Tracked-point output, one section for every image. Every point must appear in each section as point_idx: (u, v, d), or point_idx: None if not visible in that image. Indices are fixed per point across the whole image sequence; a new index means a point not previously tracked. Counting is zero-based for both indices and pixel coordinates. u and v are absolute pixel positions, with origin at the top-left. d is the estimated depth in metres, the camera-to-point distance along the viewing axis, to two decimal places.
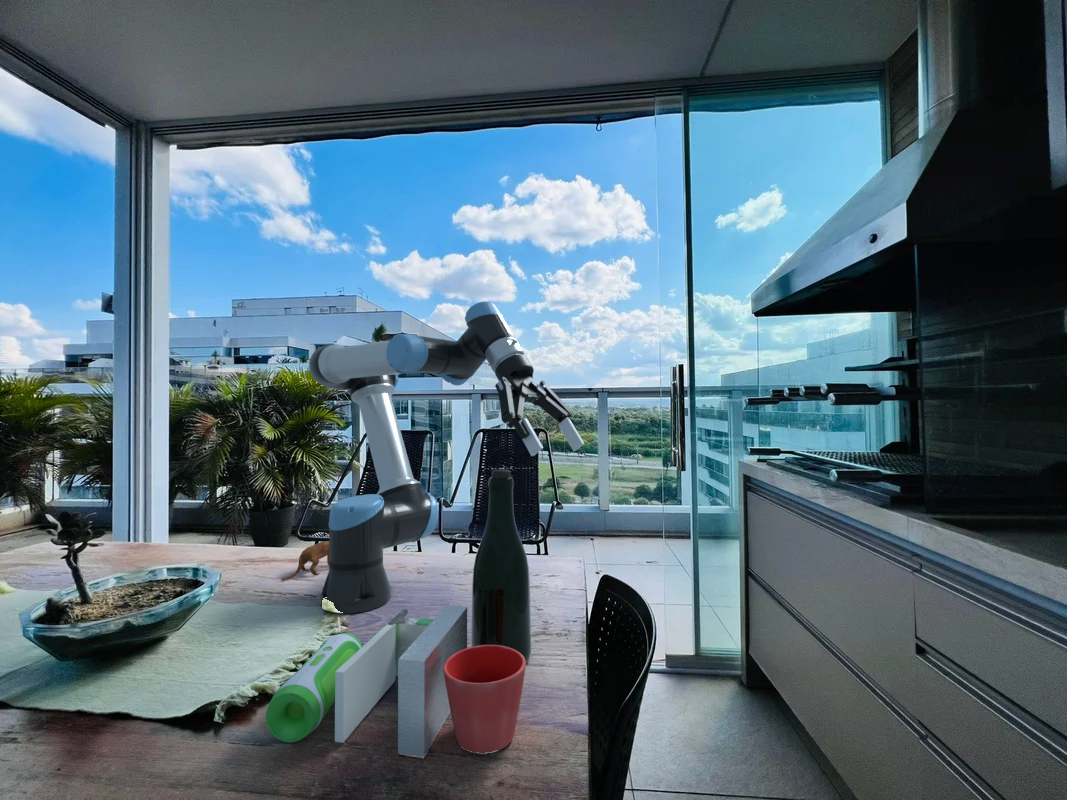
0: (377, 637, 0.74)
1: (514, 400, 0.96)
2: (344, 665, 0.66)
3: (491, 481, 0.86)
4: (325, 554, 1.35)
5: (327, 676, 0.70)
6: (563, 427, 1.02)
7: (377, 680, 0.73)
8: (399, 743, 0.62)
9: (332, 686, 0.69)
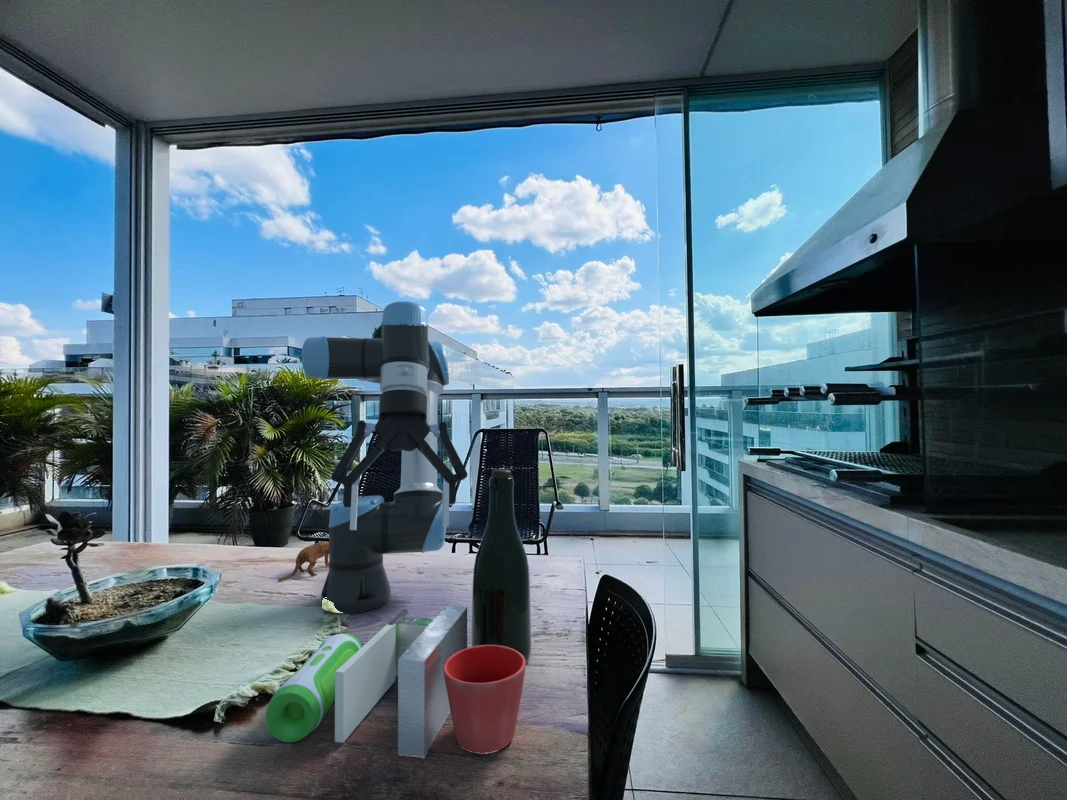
0: (377, 637, 0.74)
1: None
2: (344, 665, 0.66)
3: (492, 481, 0.86)
4: (322, 554, 1.35)
5: (327, 676, 0.70)
6: (442, 491, 0.79)
7: (377, 680, 0.73)
8: (399, 743, 0.62)
9: (332, 686, 0.69)
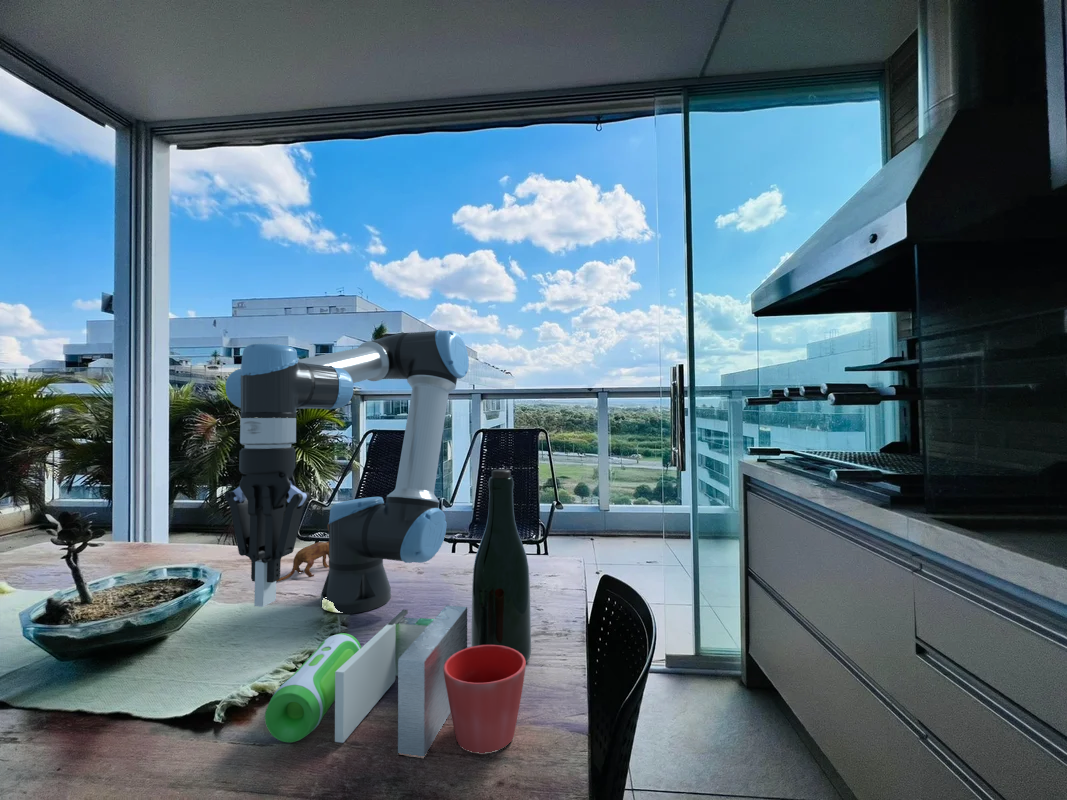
0: (377, 637, 0.74)
1: None
2: (344, 665, 0.66)
3: (491, 481, 0.86)
4: (320, 555, 1.34)
5: (326, 676, 0.70)
6: None
7: (377, 680, 0.73)
8: (399, 743, 0.62)
9: (331, 686, 0.69)
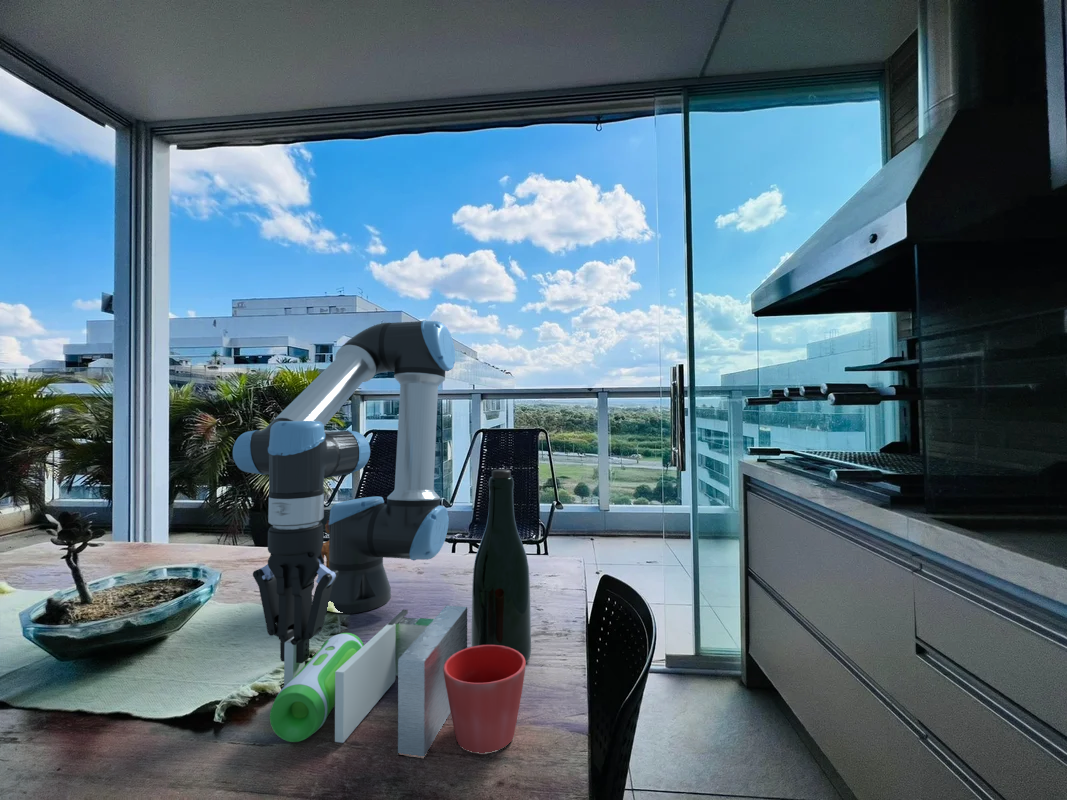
0: (377, 637, 0.74)
1: None
2: (344, 665, 0.66)
3: (491, 481, 0.86)
4: None
5: (331, 675, 0.69)
6: None
7: (377, 680, 0.73)
8: (399, 743, 0.62)
9: None
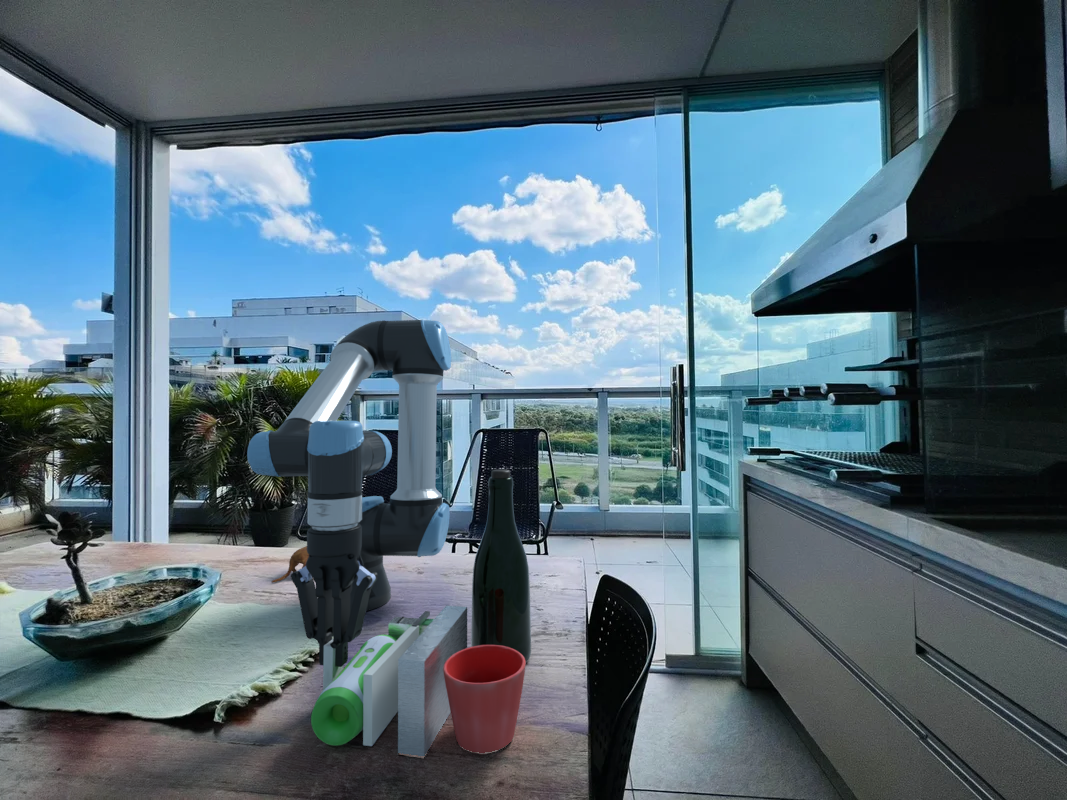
0: (402, 639, 0.73)
1: None
2: (372, 668, 0.65)
3: (491, 481, 0.86)
4: None
5: None
6: None
7: None
8: (399, 743, 0.62)
9: None
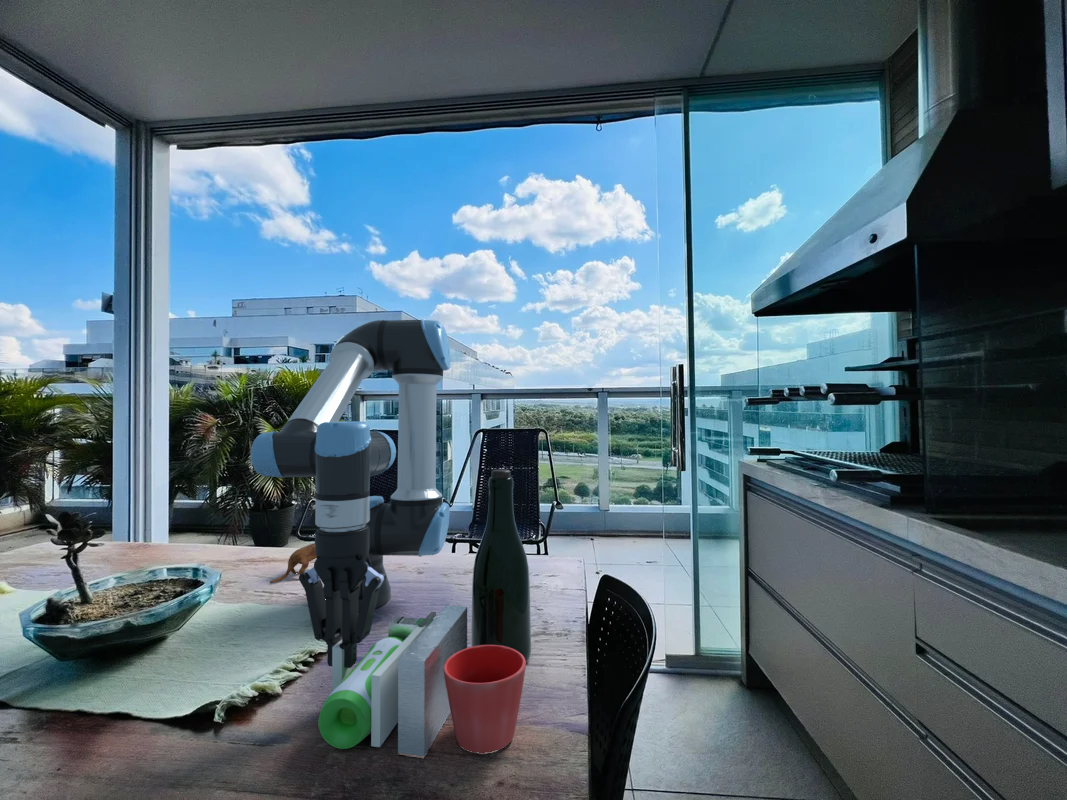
0: (409, 639, 0.73)
1: None
2: (379, 668, 0.65)
3: (491, 481, 0.86)
4: (315, 556, 1.33)
5: None
6: None
7: None
8: (399, 743, 0.62)
9: None
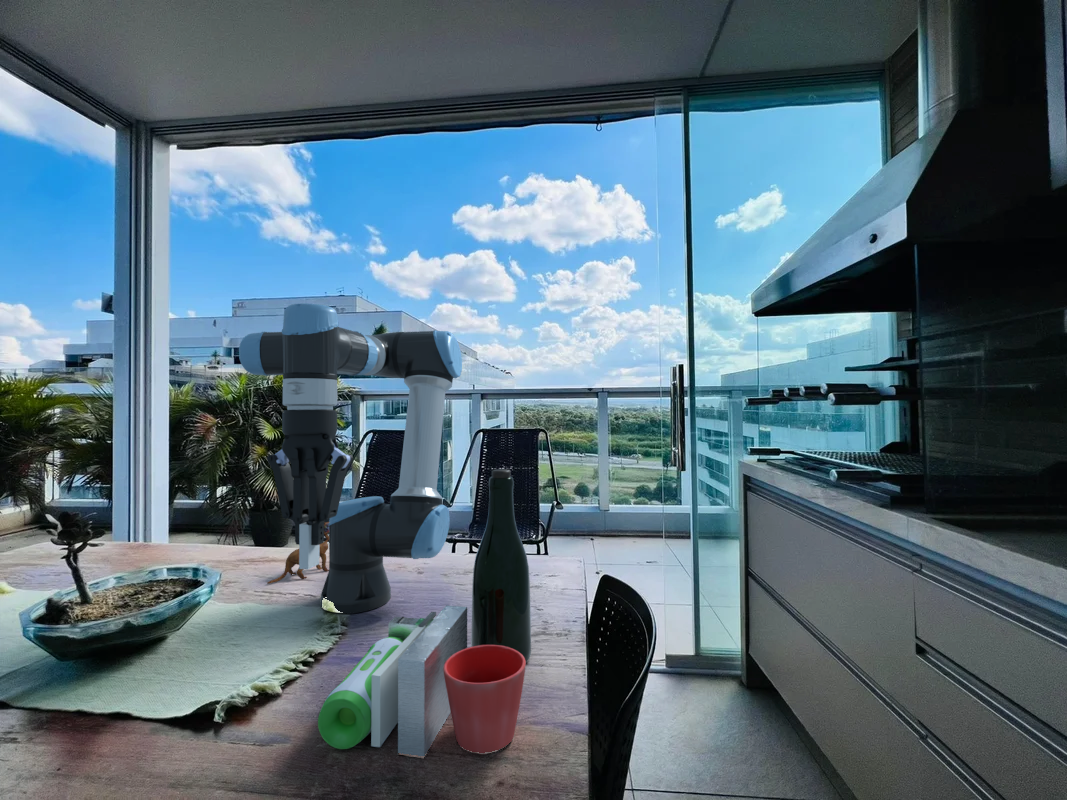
0: (409, 639, 0.73)
1: None
2: (380, 668, 0.65)
3: (491, 481, 0.86)
4: None
5: None
6: None
7: None
8: (399, 743, 0.62)
9: None
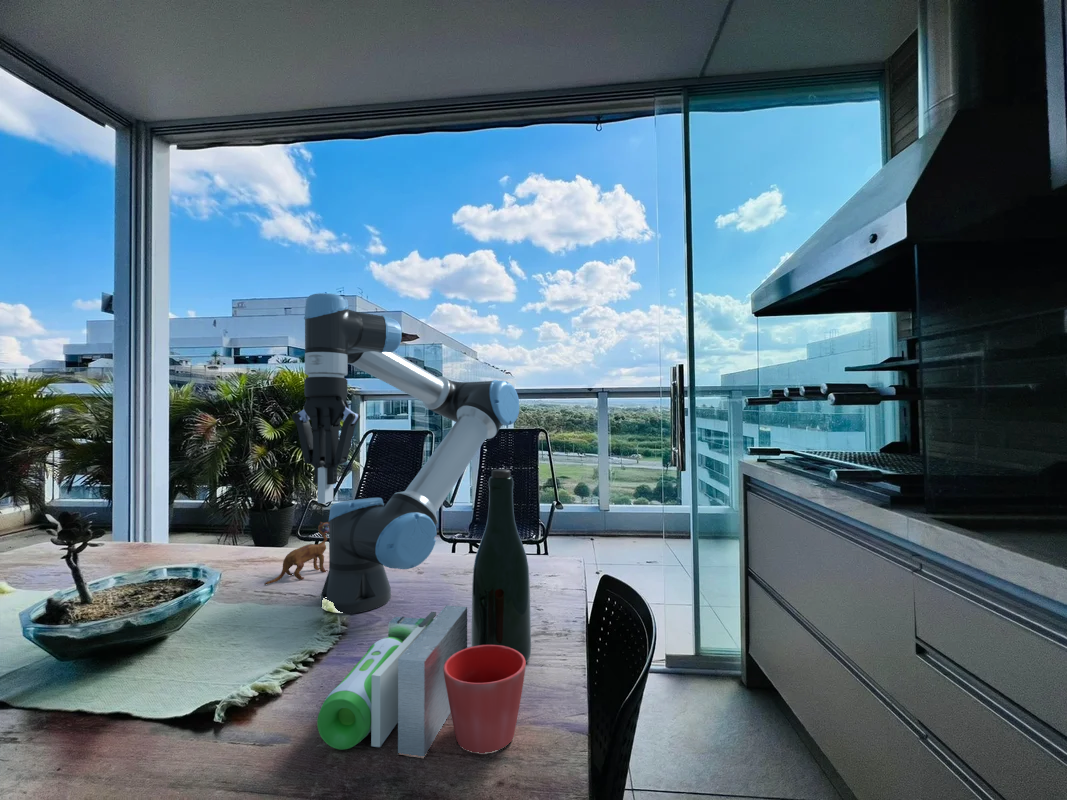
0: (409, 639, 0.73)
1: None
2: (380, 668, 0.65)
3: (491, 481, 0.86)
4: (310, 557, 1.32)
5: None
6: None
7: None
8: (399, 743, 0.62)
9: None
